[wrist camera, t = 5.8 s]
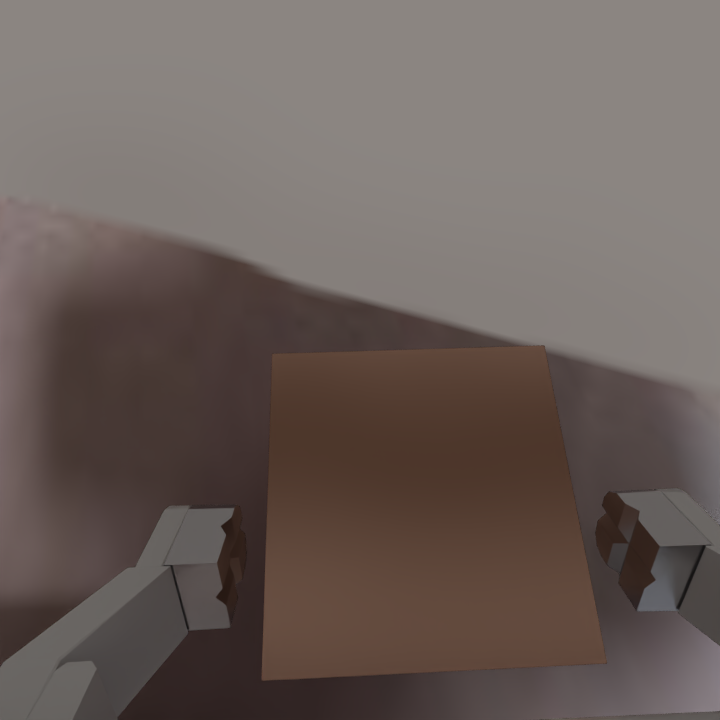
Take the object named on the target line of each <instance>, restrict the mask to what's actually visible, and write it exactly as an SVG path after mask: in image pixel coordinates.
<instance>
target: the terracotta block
mask: <svg viewBox="0 0 720 720" xmlns="http://www.w3.org/2000/svg"><path fill="white" fill-rule="evenodd" d="M606 663H607V660H606V655H605V650H604V645H603V640H602V635H601V630H600V625H599V620H598V615H597V610H596V604H595V599H594V594H593V589H592V584H591V579H590V574H589V569H588V564H587V559H586V554H585V549H584V544H583V539H582V533H581V528H580V523H579V518H578V513H577V508H576V503H575V498H574V493H573V488H572V483H571V478H570V473H569V468H568V463H567V457H566V452H565V447H564V442H563V437H562V432H561V427H560V422H559V417H558V412H557V407H556V402H555V397H554V392H553V386H552V381H551V376H550V371H549V366H548V361H547V356H546V351H545V346H511V347H478V348H445V349H412V350H380V351H347V352H314V353H281V354H272V373H271V404H270V435H269V466H268V497H267V528H266V559H265V590H264V621H263V652H262V681H268V680H288V679H308V678H328V677H348V676H368V675H387V674H407V673H427V672H447V671H467V670H487V669H507V668H527V667H547V666H567V665H586V664H606Z"/></svg>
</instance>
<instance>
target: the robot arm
mask: <svg viewBox="0 0 720 720" xmlns="http://www.w3.org/2000/svg"><path fill="white" fill-rule="evenodd" d="M602 506H603V508H604V509H605V511H606V512H607V513H606V514H605V515H604V516H603V517H601V518H600V519H599V520H598V522H597V527H596V532H595V534H596V542H597V547H598V549H599V552H600V554H601V556H602V558H603V559H604V561H605V563H606V564H607V565H608V566H609V567H611V568H612V569H614V570H615V571H617V572H618V573H620V575H619V582H618V583H619V585H620V586H621V588H622V589H623V591H624V592H625V594H626V595H627V597H628V599H629V600H630V602H631V603H632V605H633V606H634V608H635V609H636V611H679V612H678V613H679V614H680V615H681V616H682V617H684V618H685V619H686V620H688V621H689V622H690V623H691V624H693V625H694V626H695V627H696V628H698V629H699V630H700V631H702V632H703V633H704V634H705V635H707V636H708V637H709V638H710V639H712V640H713V641H714V642H716V643H717V644H718V645H719V646H720V525H718V524H717V523H716V522H715V521H714V520H713V519H712V518H711V517H710V516H709V515H708V514H707V513H706V512H705V511H704V510H703V509H702V508H701V507H700V506H699V505H698V504H697V503H696V502H695V501H694V500H693V499H692V498H691V497H690V496H689V495H688V494H687V493H686V492H685V491H683V490H681V489H679V488H669V489H654V490H632V491H609V492H608V493H607V494H606V495H605V497H604V500H603V504H602ZM241 521H242V514H241V509H240V506H238V505H192V506H169V507H167V508H166V509H165V510H164V511H163V513H162V515H161V517H160V519H159V521H158V523H157V525H156V527H155V529H154V531H153V533H152V535H151V537H150V539H149V541H148V543H147V544H146V546H145V548H144V550H143V552H142V554H141V556H140V558H139V560H138V562H137V564H136V566H135V567H132V568H126V569H125V570H124V571H123V572H121V573H120V574H119V575H117V576H116V577H115V578H113V579H112V580H111V581H109V582H108V583H107V584H105V585H104V586H103V587H102V588H100V589H99V590H98V591H96V592H95V593H94V594H92V595H91V596H90V597H88V598H87V599H86V600H84V601H83V602H82V603H81V604H79V605H78V606H77V607H75V608H74V609H73V610H71V611H70V612H69V613H67V614H66V615H65V616H63V617H62V618H61V619H60V620H58V621H57V622H56V623H54V624H53V625H52V626H50V627H49V628H48V629H46V630H45V631H44V632H43V633H41V634H40V635H39V636H37V637H36V638H35V639H33V640H32V641H31V642H29V643H28V644H27V645H25V646H24V647H23V648H22V649H20V650H19V651H18V652H16V653H15V654H14V655H12V656H11V657H10V658H8V659H7V660H6V661H4V662H3V664H2V665H1V667H0V720H118V718H117V717H118V716H119V715H120V714H121V713H122V711H123V710H124V709H125V708H126V707H127V705H128V704H129V703H130V702H131V701H132V699H133V698H134V697H135V696H136V695H137V694H138V692H139V691H140V690H141V689H142V688H143V686H144V685H145V684H146V683H147V682H148V681H149V679H150V678H151V677H152V676H153V675H154V673H155V672H156V671H157V670H158V669H159V668H160V666H161V665H162V664H163V663H164V662H165V660H166V659H167V658H168V657H169V656H170V654H171V653H172V652H173V651H174V650H175V649H176V647H177V646H178V645H179V644H180V643H181V641H182V640H183V639H184V638H185V637H186V636H187V634H188V631H192V630H206V629H220V628H231V624H232V620H233V616H234V612H235V608H236V604H237V600H238V595H237V589H236V585H237V584H238V583H239V582H240V581H241V580H242V579H243V575H244V570H245V564H246V554H247V550H246V537H245V533H244V532H243V531H241V530H240V525H241ZM541 720H720V711H715V712H693V713H671V714H650V715H628V716H606V717H584V718H563V719H541Z"/></svg>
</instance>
